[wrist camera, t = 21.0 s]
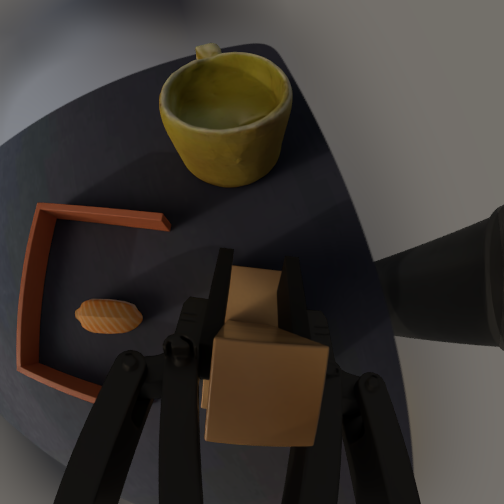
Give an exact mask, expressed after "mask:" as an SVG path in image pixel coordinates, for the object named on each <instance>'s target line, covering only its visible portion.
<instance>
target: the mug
mask: <svg viewBox="0 0 504 504" xmlns="http://www.w3.org/2000/svg"><path fill="white" fill-rule="evenodd" d="M196 57H197V60H194V61H192V62H190V63H188V64H187V65H185V66H183V67H181V68H179V69H178V70H177V71H175V72H174V73H173V74H172V75H171V76H170V77H169V78H168V79H167V80H166V82H165V84H164V85H163V87H162V90H161V93H160V97H159V108H160V114H161V118H162V121H163V124H164V126H165V129H166V131H167V133H168V135H169V137H170V139H171V141H172V142H173V144H174V146H175V148H176V150H177V151H178V153H179V155H180V157H181V158H182V160H183V162H184V164H185V165H186V167H187V168H188V169H189V170H190V171H191V172H192V173H193V174H194V175H195V176H196V177H197V178H199V179H200V180H202V181H204V182H206V183H209V184H212V185H215V186H220V187H226V188H232V187H239V186H244V185H248V184H251V183H253V182H255V181H257V180H258V179H260V178H262V177H264V176H265V175H266V174H268V173H269V171H270V170H271V169H272V168H273V167H274V166H275V164H276V162H277V160H278V158H279V155H280V151H281V144H282V141H283V137H284V133H285V130H286V126H287V123H288V119H289V116H290V112H291V107H292V88H291V85H290V82H289V79H288V78H287V76H286V75H285V73H284V72H283V71H282V70H281V69H280V68H279V67H278V66H277V65H275V64H274V63H273V62H272V61H270V60H268V59H266V58H264V57H261V56H258V55H254V54H250V53H243V52H231V53H221V50H220V48H219V46H218V45H217V44H214V43H209V44H205V45H201V46H197V47H196Z"/></svg>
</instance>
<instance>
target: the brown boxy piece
mask: <svg viewBox="0 0 504 504" xmlns="http://www.w3.org/2000/svg"><path fill="white" fill-rule="evenodd" d="M281 272H282V271H277V270H268V269H260V268H251V267H243V266H234V265H232V271H231V280H230V289H229V296H228V303H227V310H226V317H225V324H224V325H223V326H222V328H221V329H220V331H219V332H218V333H217V335H216V336H215V338H214V341H213V350H212V360H211V370H210V380H204V381H203V392H202V403H201V408H206V409H207V412H206V424H205V436H204V438H205V440H206V441H210V442H219V443H228V444H239V445H253V446H313V445H314V441H315V436H316V431H317V426H318V420H319V415H320V409H321V403H322V397H323V391H324V384H325V378H326V371H327V363H328V355H329V347H328V346H326V345H323V344H320V343H318V342H315V341H312V340H309V339H307V338H304V337H301V336H298V335H296V334H293V333H290V332H288V331H285V330H283V329H280V328H278V315H277V288H278V284H279V280H280V276H281Z"/></svg>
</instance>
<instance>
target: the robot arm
mask: <svg viewBox="0 0 504 504" xmlns="http://www.w3.org/2000/svg"><path fill="white" fill-rule="evenodd" d="M233 252H234V249H227V248H220V250H219V254H218V259H217V263H216V268H215V272H214V276H213V281H212V285H211V290H210V294H209V299H203V298H196V297H189V298H188V299H187V300H186V301H185V303H184V304H183V307H182V311H181V314H180V317H179V321H178V324H177V328H176V331H175V334H172V335H170V336H168V337H167V338H166V339H165V340H164V343H163V350H164V353H162V354H160V355H155V356H145V357H144V356H143V355H142V354H141V353H139V352H137V351H134V350H128V351H124V352H122V353H121V354H119V355H118V357H117V358H116V360H115V362H114V364H113V365H112V367H111V369H110V371H109V373H108V375H107V377H106V379H105V381H104V384H103V386H102V388H101V390H100V392H99V394H98V396H97V398H96V400H95V402H94V404H93V407H92V409H91V411H90V413H89V415H88V418H87V420H86V422H85V424H84V427H83V429H82V431H81V433H80V436H79V438H78V440H77V443H76V445H75V448H74V450H73V452H72V455H71V457H70V460H69V462H68V465H67V468H66V470H65V473H64V476H63V478H62V481H61V484H60V486H59V489H58V492H57V495H56V498H55V500H54V504H118V502H119V499H120V496H121V493H122V489H123V486H124V483H125V480H126V477H127V474H128V471H129V468H130V465H131V462H132V459H133V456H134V453H135V450H136V447H137V445H138V442H139V439H140V436H141V433H142V430H143V427H144V425H145V422H146V419H147V416H148V414H149V411H150V408H151V405H152V403H153V400H154V399H156V398H161V413H160V433H159V504H203V490H202V474H201V455H200V427H199V379H204V380H210V370H211V360H212V350H213V341H214V338H215V336H216V335H217V333H218V332H219V331H220V329H221V328H222V326H223V325H224V324H225V317H226V310H227V303H228V296H229V289H230V280H231V271H232V261H233ZM277 315H278V328H280V329H283V330H285V331H288V332H290V333H293V334H296V335H298V336H301V337H304V338H307V339H309V340H312V341H315V342H318V343H320V344H323V345H326V346H328V347H329V355H328V363H327V371H326V378H325V384H324V391H323V397H322V403H321V409H320V415H319V420H318V426H317V431H316V436H315V441H314V445H313V446H291V447H290V454H289V461H288V468H287V474H286V480H285V486H284V492H283V497H282V503H281V504H337V501H338V491H339V479H340V465H341V447H342V437H343V442H344V446H345V451H346V456H347V460H348V465H349V470H350V475H351V480H352V485H353V490H354V495H355V501H356V504H421V503H420V498H419V494H418V490H417V486H416V482H415V478H414V474H413V470H412V467H411V463H410V459H409V456H408V452H407V449H406V446H405V442H404V439H403V436H402V432H401V429H400V426H399V423H398V420H397V417H396V414H395V411H394V408H393V405H392V402H391V399H390V396H389V393H388V391H387V388H386V385H385V382H384V381H383V379H382V378H381V377H380V376H379V375H378V374H375V373H371V372H367V373H364V374H363V375H362V376H361V377H359V376H356V375H352V374H349V373H347V372H344V371H343V370H341V368H340V366H339V365H338V364H337V363H336V362H335V359H334V354H333V349H332V343H331V338H330V333H329V329H328V323H327V319H326V317H325V316H324V314H323V313H322V311H316V310H307V307H306V300H305V294H304V287H303V281H302V275H301V269H300V263H299V257H291V256H285V259H284V264H283V268H282V272H281V276H280V280H279V284H278V288H277Z"/></svg>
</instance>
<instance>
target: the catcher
mask: <svg viewBox="0 0 504 504" xmlns="http://www.w3.org/2000/svg"><path fill="white" fill-rule="evenodd" d="M56 219H66V220H75V221H84V222H93V223H102V224H111V225H120V226H129V227H137V228H146V229H154V230H163V231H170V229H171V224H170V222H169V221H168V220H167V218H166V217H165V216H164V214H163V213H155V212H145V211H135V210H125V209H114V208H103V207H91V206H79V205H67V204H53V203H39V202H38V203H37V207H36V210H35V214H34V218H33V222H32V226H31V230H30V235H29V239H28V244H27V249H26V254H25V260H24V265H23V272H22V279H21V286H20V295H19V305H18V319H17V371H19V372H21V373H23V374H25V375H27V376H29V377H31V378H33V379H35V380H37V381H39V382H41V383H43V384H46V385H48V386H50V387H53V388H55V389H57V390H60V391H62V392H64V393H67V394H70V395H72V396H75V397H77V398H80V399H83V400H85V401H88V402H91V403H94V402H95V400H96V398H97V396H98V394H99V392H100V390H101V388H102V386H100V385H97V384H94V383H91V382H88V381H85V380H82V379H79V378H76V377H74V376H71V375H68V374H66V373H63V372H60V371H58V370H55V369H53V368H50V367H48V366H45V365H43V364H41V363H39V334H40V318H41V306H42V296H43V288H44V281H45V274H46V268H47V262H48V256H49V251H50V246H51V241H52V236H53V232H54V228H55V224H56Z"/></svg>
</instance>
